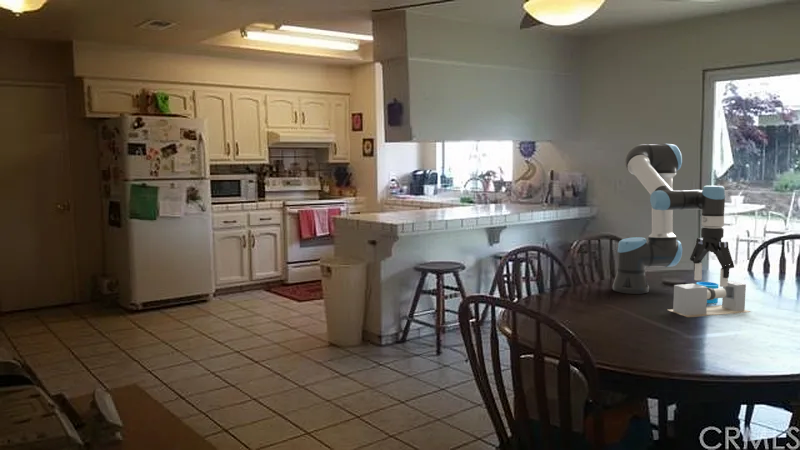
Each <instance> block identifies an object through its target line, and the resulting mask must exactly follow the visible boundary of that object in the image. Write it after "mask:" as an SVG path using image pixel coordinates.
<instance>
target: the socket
mask: <svg viewBox="0 0 800 450" xmlns="http://www.w3.org/2000/svg"><path fill="white" fill-rule="evenodd" d="M746 287H747V285H746V284H745V283H741V282H737V281H732V280H728V286H726V287H722V288H724V289H725V290H726V297H724V298H721V299H722V300H721V305H722V307H724V308H727V309H730V310H733V311H745V310H746Z"/></svg>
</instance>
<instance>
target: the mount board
mask: <svg viewBox="0 0 800 450" xmlns="http://www.w3.org/2000/svg"><path fill="white" fill-rule="evenodd" d="M668 311H669V312H672V313H675V314H677V315H680V316H684V317H686V318H697V317H708V316H710V317H711V316H718V315H719V316H720V315H732V314H744V313H752V311H750V310H748V309H745V311H733V310H730V309H727V308H724V307H722V304H720V305H709V306H708V305H707V311H706V314H697V315H683V314H680V313H677V312H675V311H673V308H671V309H668Z"/></svg>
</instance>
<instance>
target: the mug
mask: <svg viewBox="0 0 800 450" xmlns="http://www.w3.org/2000/svg"><path fill="white" fill-rule="evenodd" d="M695 284H697V285H701V286H705V287H708V288H712V289H718V288H719V283H716V282H712V281H697V282H695ZM718 301H719V298H714V299H713V300H707V304H717V303H718Z"/></svg>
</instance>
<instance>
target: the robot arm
mask: <svg viewBox="0 0 800 450" xmlns="http://www.w3.org/2000/svg"><path fill="white" fill-rule="evenodd" d="M682 163H683V155H682V152H681V151H680V149H679V147H678V145H676V144H672V143H651V144H649V143H648V144H645V143H641V144H637V145H635V146H633V147H632V148H630V149H629V150H628V152H627V153H626V155H625V157H624V165H625V168H626V170H627V171H628V173H630V174H631V175H633V176H635V178H636V179H637V180H638V181H639V183H641V185H642V186H643V187H644V189H645V190H646V191H647V192H648V193H649V196H650V198H649V202H650V206H651V233H650V234H649V235H648V237H647V239H646V238H645V237H641V236H638V237H636V236H635V237H627V238H623V239H621V240H619V241H618V243H617V244H618V245H617V249H616V250H617V268H616V274H615V278H614V281H613V283H612V290H613V291H614V292H617V293H620V294H621V293H622V294H628V295H629V294H632V295H633V294H635V295H641V294H646V293H649V290H650V286H649V283H648V280H647V276H646V268H661V267H664V268H668V267H675V266H677V265H678V264H679V262H680V261H681V259H682V255H683V246H682V242H681V241H680V240H678V239H677V235H676V234H674V230H673V229H674V228H673V226H674V225H673V224H674V223H673V222H674V219H673V217H674V215H673V212H674V211H677V210H678V211H679V210H681V211H687V210H689V211H690V210H693V211H694V210H696V211H697V210H700V211H701V229H700V236H701V237H698V238H696V240H695V241H696V242H695V246H694V247H693V251H692V253H691V255H690V258H689V261H692V262H693V271H694V274H693V275H694V277H693V280H694V281H702V279H703V263H702V261H703V259H704V258H705V256H706V255H707V254H708V252H710V253H713V254H714V255H715V257H716V258H717V261H718V262H719V264H720V266H721V268H720V276H719V288H723V287H726V286H728V281H729V277H730V269H734V268H735V264H734V261H733V257H732V255H731V251H730V249H729V242H728V241H722V238H724V231H725V230H724V228H723V227H724V226H725V205H726V204H725V203H726V202H725V201H726V195H725V192H726V191H725V189H726V188H725V187H724V186H723V185H704V186H703V187H702V189H691V190H688V189H687V190H685V189H683V190H681V189H680V190H678V189H677V190H674V187H673V183H674V182H673V178H675V176H677V171H679V170H680V169H681V167H682Z"/></svg>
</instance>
